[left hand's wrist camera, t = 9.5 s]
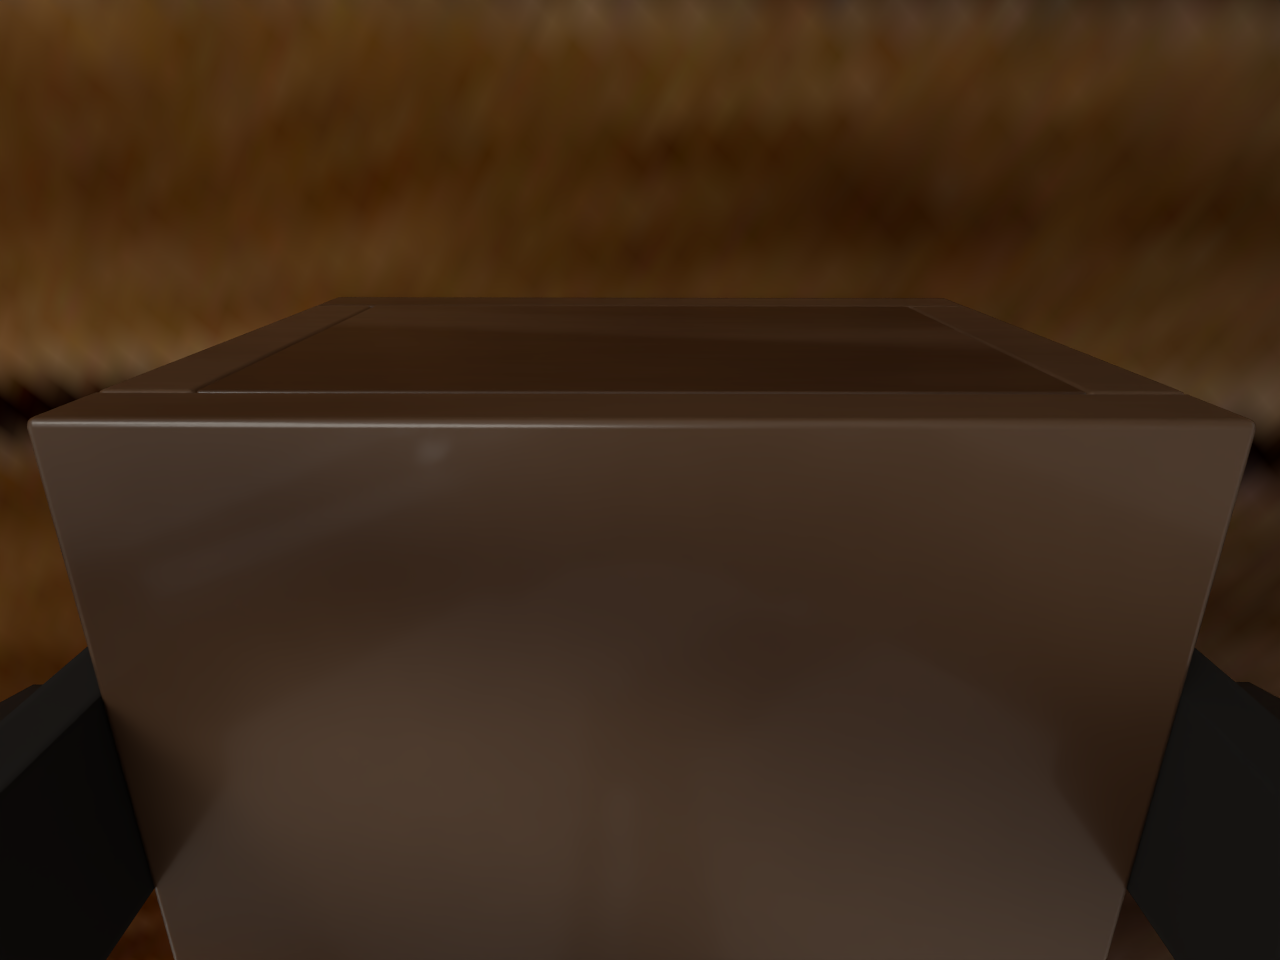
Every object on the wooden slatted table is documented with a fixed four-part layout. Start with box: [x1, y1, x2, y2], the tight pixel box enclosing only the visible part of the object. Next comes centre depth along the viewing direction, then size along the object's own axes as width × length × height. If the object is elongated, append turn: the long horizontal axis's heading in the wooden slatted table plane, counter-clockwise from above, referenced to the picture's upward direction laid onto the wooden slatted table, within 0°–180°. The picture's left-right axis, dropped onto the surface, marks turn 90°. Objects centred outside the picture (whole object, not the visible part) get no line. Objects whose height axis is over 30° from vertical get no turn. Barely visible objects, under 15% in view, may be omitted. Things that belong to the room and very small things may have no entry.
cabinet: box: [27, 297, 1256, 960], centre depth 15 cm, size 20×12×8 cm, turn 0°
